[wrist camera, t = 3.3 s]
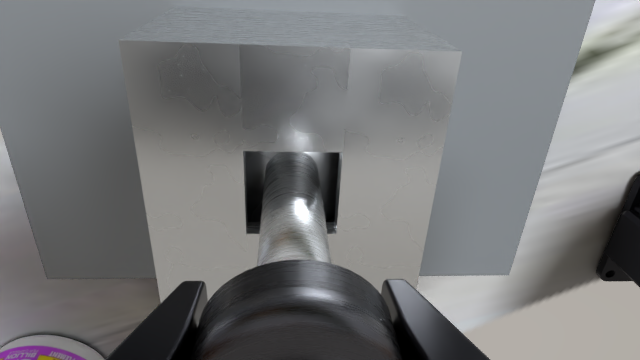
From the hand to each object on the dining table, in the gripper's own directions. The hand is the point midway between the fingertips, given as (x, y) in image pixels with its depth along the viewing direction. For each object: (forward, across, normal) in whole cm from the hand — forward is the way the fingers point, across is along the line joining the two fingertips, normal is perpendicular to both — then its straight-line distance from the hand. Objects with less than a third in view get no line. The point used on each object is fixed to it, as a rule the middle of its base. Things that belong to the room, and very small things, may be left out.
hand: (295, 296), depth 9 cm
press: (+10, 0, 0) cm, 10 cm away
